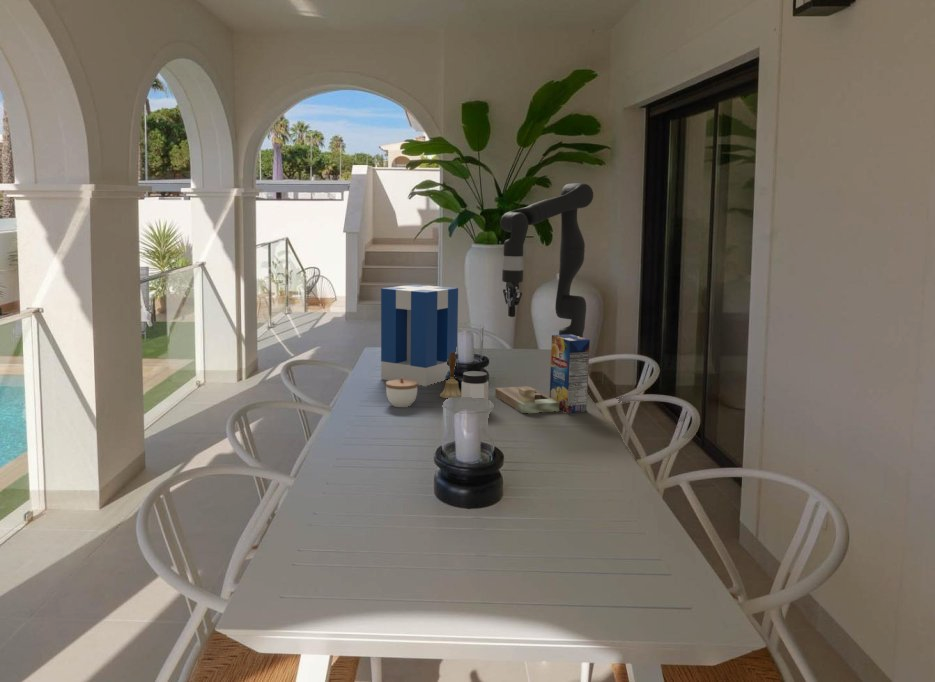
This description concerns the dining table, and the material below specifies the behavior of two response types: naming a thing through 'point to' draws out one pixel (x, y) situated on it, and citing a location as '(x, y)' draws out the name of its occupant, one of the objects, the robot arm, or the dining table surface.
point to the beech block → (527, 394)
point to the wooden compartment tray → (540, 404)
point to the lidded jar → (401, 392)
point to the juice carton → (569, 372)
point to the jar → (475, 384)
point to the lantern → (418, 332)
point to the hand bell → (451, 381)
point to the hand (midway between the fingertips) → (511, 316)
